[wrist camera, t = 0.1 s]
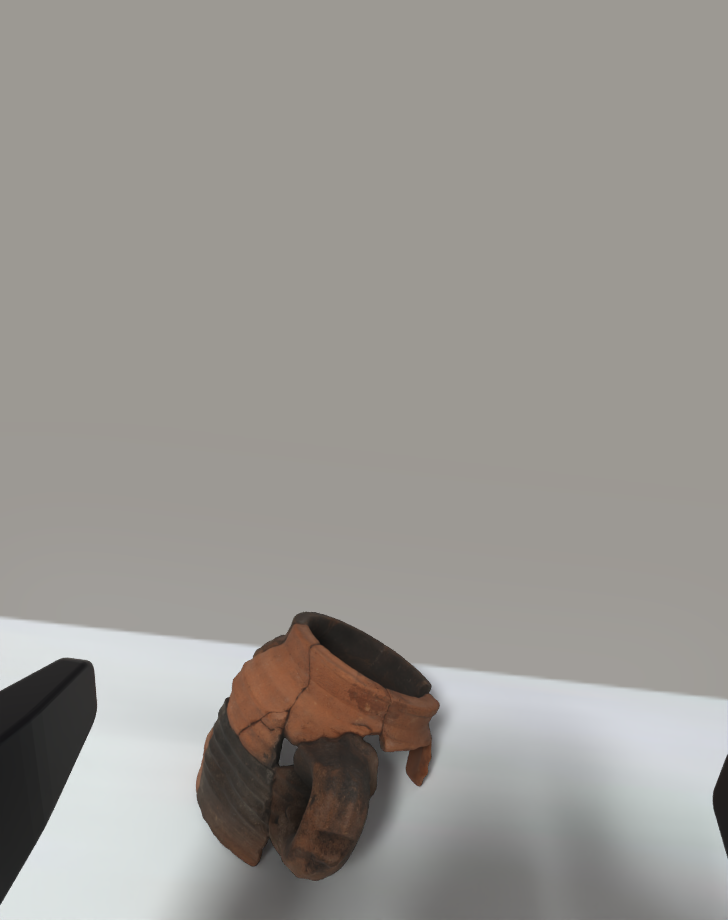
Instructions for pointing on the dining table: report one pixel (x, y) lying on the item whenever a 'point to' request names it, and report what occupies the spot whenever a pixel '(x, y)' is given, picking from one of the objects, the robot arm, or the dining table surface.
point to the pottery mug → (310, 743)
